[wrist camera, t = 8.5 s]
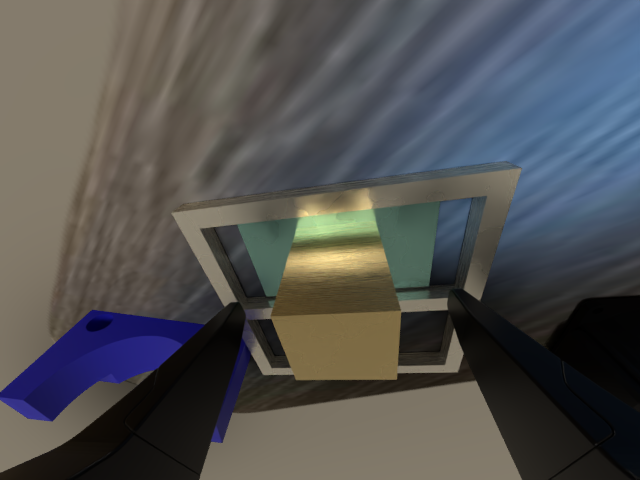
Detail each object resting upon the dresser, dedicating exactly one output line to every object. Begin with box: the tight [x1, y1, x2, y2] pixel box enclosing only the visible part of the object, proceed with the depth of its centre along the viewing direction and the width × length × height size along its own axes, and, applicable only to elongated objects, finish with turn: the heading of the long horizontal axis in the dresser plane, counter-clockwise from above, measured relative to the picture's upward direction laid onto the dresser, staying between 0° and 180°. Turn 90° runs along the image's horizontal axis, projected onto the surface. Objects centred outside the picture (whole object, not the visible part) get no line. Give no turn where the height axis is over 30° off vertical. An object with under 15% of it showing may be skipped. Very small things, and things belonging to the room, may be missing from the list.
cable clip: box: [0, 310, 251, 443], centre depth 16 cm, size 12×4×6 cm, turn 83°
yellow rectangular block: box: [270, 221, 401, 380], centre depth 10 cm, size 4×4×6 cm
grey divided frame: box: [172, 161, 522, 375], centre depth 14 cm, size 15×15×1 cm
